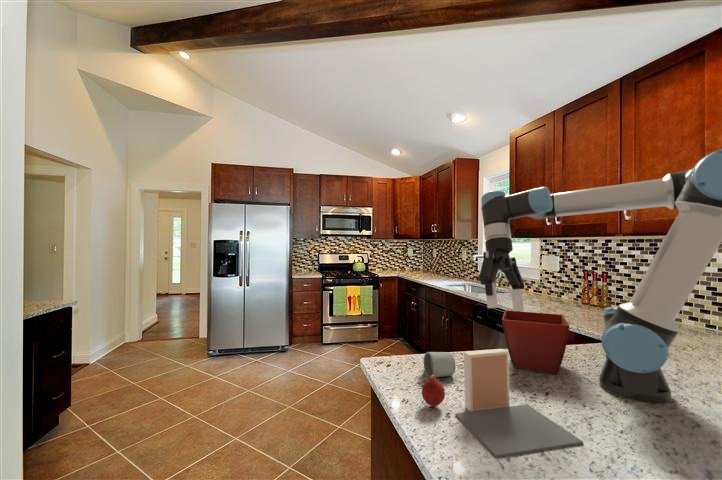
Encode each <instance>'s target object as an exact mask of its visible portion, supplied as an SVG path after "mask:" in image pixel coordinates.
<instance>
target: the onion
mask: <svg viewBox="0 0 722 480" xmlns="http://www.w3.org/2000/svg"><path fill="white" fill-rule="evenodd" d="M421 396H422V399H423V401H424V402H425V403H426V404H427V405H429V407H431V408H436V407H438V406H439V405H440V404H442V403H443V401H444V400H445V398H446V391H445V388H444V385H443V383H441V382H440V381H439V380H438V379H437V377H436V376H435V375H432V376H431V378H428V379H427V380H426V381H424V383H423V385H422V387H421Z"/></svg>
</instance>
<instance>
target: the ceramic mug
mask: <svg viewBox="0 0 722 480" xmlns="http://www.w3.org/2000/svg"><path fill="white" fill-rule="evenodd" d="M422 362H423V368H424V372H425V375H426V376H427V378H428V379H430V378H431V376H432V375H435V376H436V378H443V377H450V376H452V375H454V374H455V371H456V361H455V359H454V357H453V355H452V354H451V353H449V352H446V351H427V352H426V353H424V356H423V360H422Z"/></svg>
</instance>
